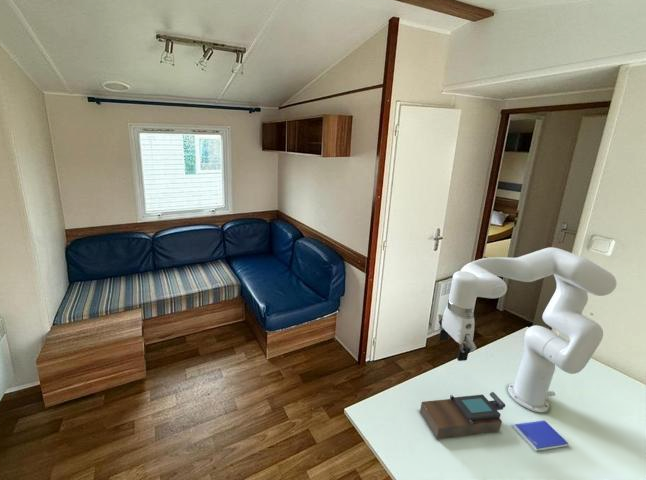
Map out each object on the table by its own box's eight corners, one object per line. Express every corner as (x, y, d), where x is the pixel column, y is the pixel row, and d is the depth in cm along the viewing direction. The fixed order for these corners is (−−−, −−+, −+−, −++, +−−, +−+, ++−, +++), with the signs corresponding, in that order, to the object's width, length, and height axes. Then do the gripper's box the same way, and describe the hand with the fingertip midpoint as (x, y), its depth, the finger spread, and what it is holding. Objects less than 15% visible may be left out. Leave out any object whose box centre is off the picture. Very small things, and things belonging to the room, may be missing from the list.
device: (490, 397, 109) (492, 388, 108) (508, 417, 102) (511, 407, 101) (453, 400, 108) (454, 391, 106) (468, 421, 100) (471, 411, 99)
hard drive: (537, 448, 95) (568, 443, 97) (514, 423, 103) (544, 419, 105) (535, 451, 96) (567, 446, 97) (513, 427, 103) (543, 423, 105)
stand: (477, 405, 111) (480, 392, 110) (499, 432, 101) (503, 418, 100) (419, 411, 109) (421, 397, 107) (436, 440, 99) (439, 425, 97)
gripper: (491, 323, 89) (480, 368, 94) (453, 293, 106) (445, 332, 110) (468, 324, 88) (459, 369, 93) (434, 294, 105) (427, 333, 110)
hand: (452, 349), depth 102 cm, fingers open, 9 cm apart
